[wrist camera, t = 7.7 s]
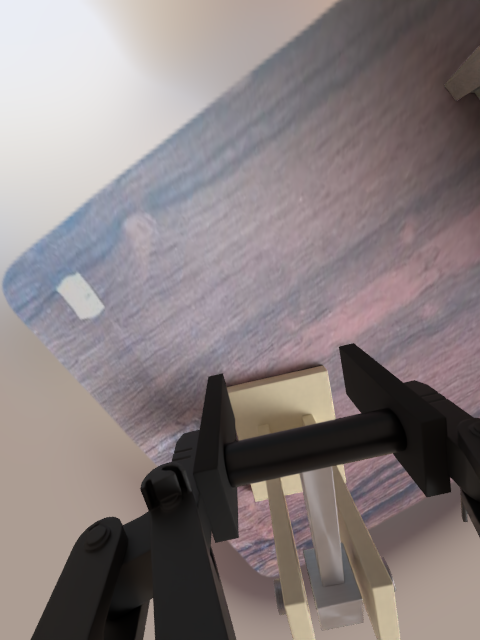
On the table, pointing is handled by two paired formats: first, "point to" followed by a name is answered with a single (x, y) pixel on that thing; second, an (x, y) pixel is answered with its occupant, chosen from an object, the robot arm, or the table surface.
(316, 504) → the lever
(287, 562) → the bracket
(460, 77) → the building
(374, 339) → the table surface
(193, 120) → the table surface
